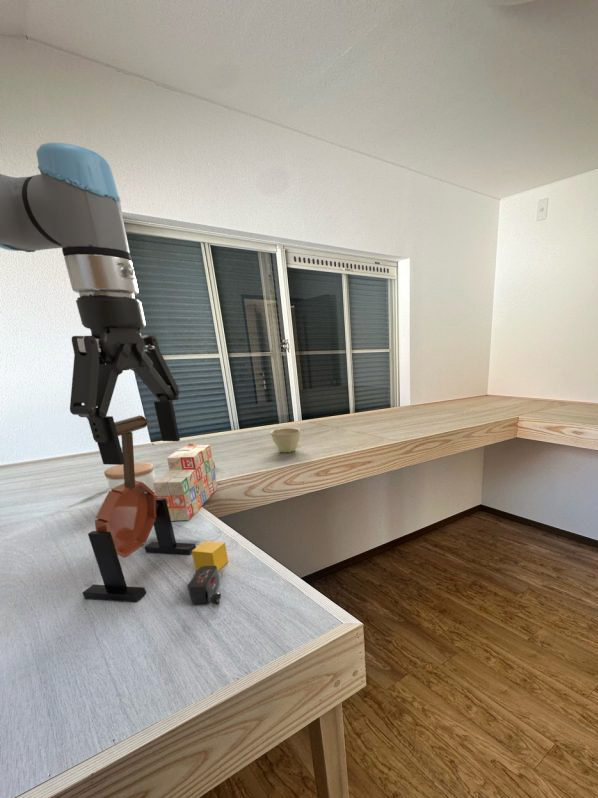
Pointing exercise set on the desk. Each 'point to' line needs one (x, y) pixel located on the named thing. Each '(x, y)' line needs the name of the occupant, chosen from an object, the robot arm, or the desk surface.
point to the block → (210, 555)
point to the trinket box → (142, 474)
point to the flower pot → (286, 439)
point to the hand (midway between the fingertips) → (145, 451)
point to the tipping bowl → (128, 499)
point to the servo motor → (204, 586)
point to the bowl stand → (111, 565)
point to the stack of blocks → (187, 481)
